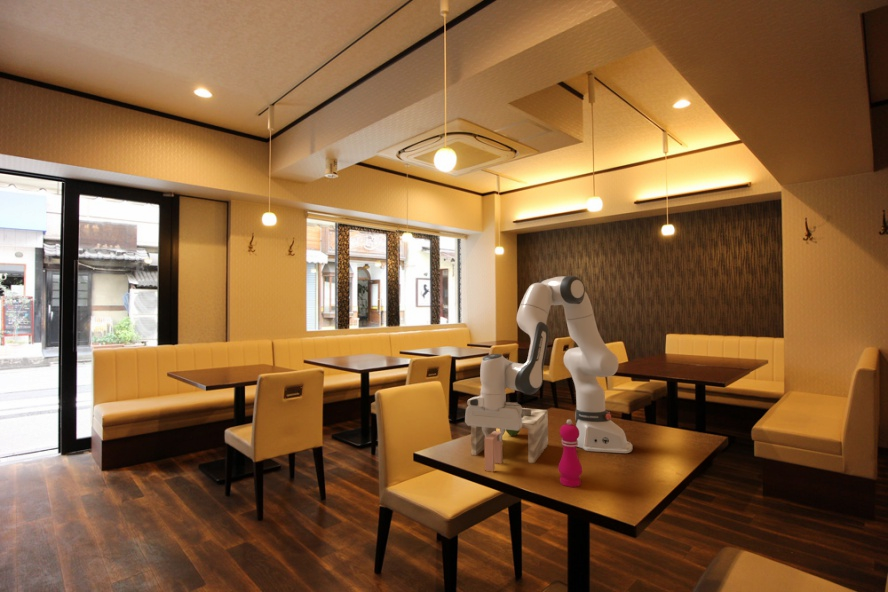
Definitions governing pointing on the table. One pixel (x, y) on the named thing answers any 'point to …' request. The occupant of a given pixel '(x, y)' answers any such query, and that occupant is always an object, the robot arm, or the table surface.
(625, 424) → the table surface
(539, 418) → the shelf
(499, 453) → the u piece
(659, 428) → the table surface
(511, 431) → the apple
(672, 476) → the table surface
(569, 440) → the pepper mill
